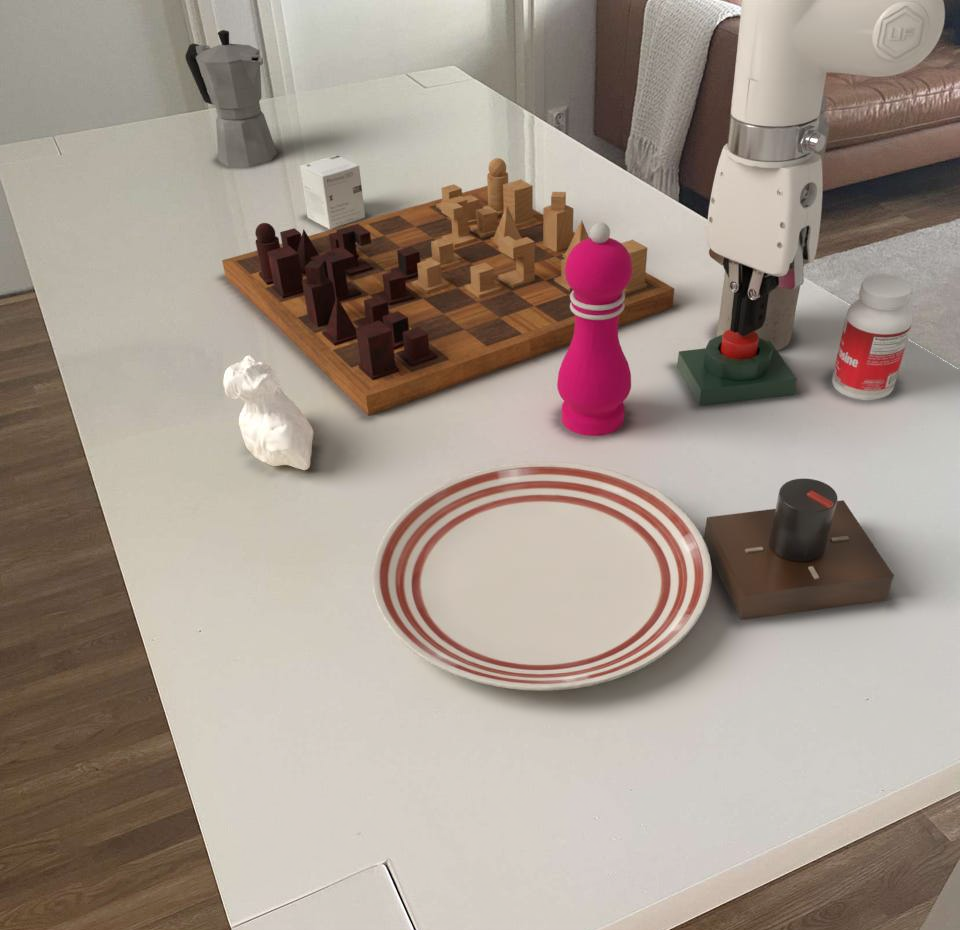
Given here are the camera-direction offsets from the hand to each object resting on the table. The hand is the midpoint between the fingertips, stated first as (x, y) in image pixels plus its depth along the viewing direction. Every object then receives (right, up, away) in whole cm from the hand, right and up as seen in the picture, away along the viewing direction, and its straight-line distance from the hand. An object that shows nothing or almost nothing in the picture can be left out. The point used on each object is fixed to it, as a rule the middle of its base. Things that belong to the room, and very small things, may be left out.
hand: (746, 328), depth 101 cm
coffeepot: (-65, +45, +59) cm, 99 cm away
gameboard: (-32, +11, +22) cm, 40 cm away
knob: (-1, -24, -19) cm, 31 cm away
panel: (-1, -26, -17) cm, 31 cm away
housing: (0, -4, +4) cm, 6 cm away
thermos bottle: (+4, +2, +11) cm, 12 cm away
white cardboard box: (-47, +28, +40) cm, 68 cm away
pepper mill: (-15, -9, 0) cm, 18 cm away
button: (0, -2, +2) cm, 3 cm away
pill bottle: (+13, -5, +3) cm, 14 cm away
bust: (-47, -13, -1) cm, 49 cm away
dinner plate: (-22, -27, -17) cm, 39 cm away
